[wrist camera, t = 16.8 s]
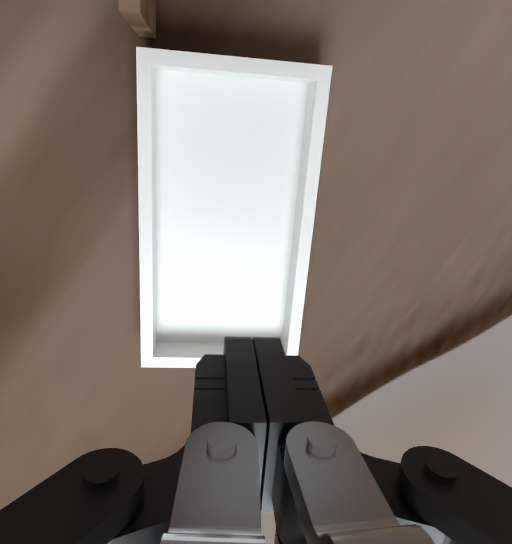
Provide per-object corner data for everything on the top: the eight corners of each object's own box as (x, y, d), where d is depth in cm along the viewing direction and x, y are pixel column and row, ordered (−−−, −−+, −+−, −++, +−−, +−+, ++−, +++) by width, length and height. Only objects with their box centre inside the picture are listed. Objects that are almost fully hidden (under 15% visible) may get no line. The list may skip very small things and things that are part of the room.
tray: (289, 348, 33) (296, 368, 31) (147, 345, 32) (141, 367, 29) (319, 72, 27) (332, 65, 24) (144, 55, 26) (136, 46, 23)
